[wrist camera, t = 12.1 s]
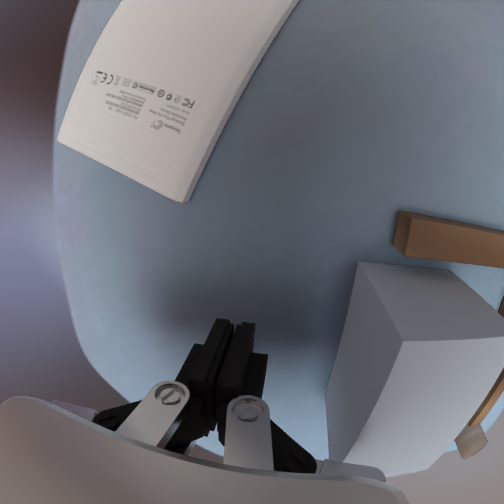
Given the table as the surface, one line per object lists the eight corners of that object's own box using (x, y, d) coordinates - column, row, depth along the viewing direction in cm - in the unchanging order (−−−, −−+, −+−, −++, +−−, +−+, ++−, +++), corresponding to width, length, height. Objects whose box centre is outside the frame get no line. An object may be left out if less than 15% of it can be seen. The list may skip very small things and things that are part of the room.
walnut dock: (399, 205, 10) (452, 231, 6) (534, 235, 9) (584, 261, 5) (336, 423, 15) (340, 480, 11) (458, 411, 14) (476, 454, 9)
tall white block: (357, 260, 12) (403, 341, 6) (448, 269, 11) (520, 334, 5) (324, 392, 14) (329, 481, 9) (402, 391, 14) (426, 469, 8)
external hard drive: (315, -16, 8) (193, 200, 12) (175, -44, 8) (71, 139, 12) (317, -34, 7) (179, 205, 11) (165, -58, 6) (51, 139, 11)
